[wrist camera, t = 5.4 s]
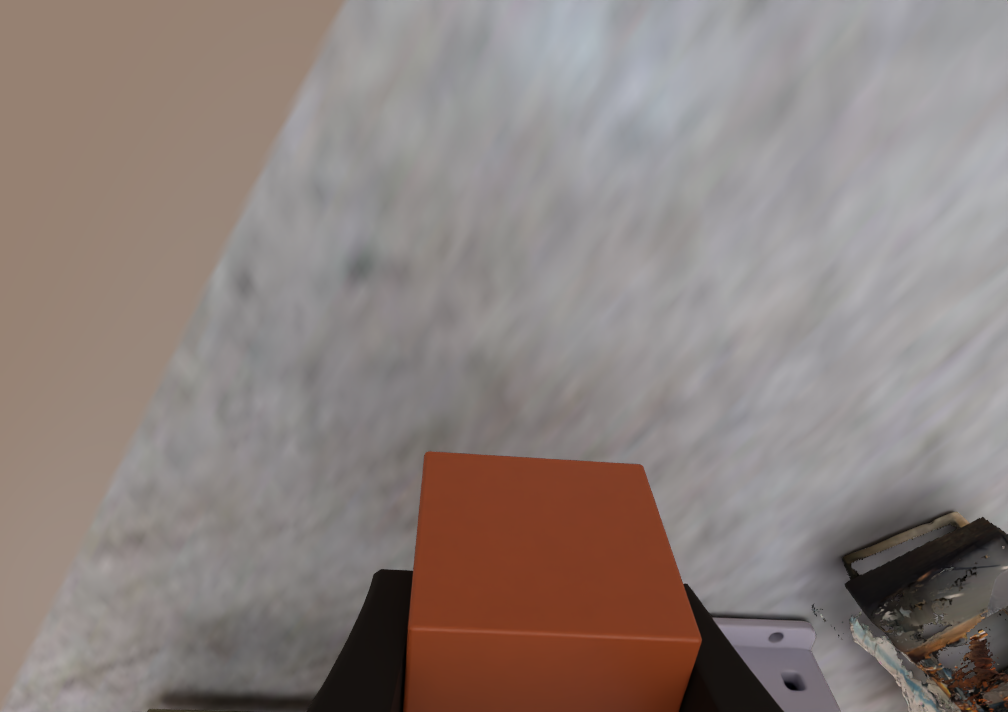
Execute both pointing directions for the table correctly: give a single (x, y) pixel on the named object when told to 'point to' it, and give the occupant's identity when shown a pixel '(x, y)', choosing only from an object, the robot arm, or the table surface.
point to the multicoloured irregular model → (936, 611)
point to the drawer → (168, 711)
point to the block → (544, 590)
